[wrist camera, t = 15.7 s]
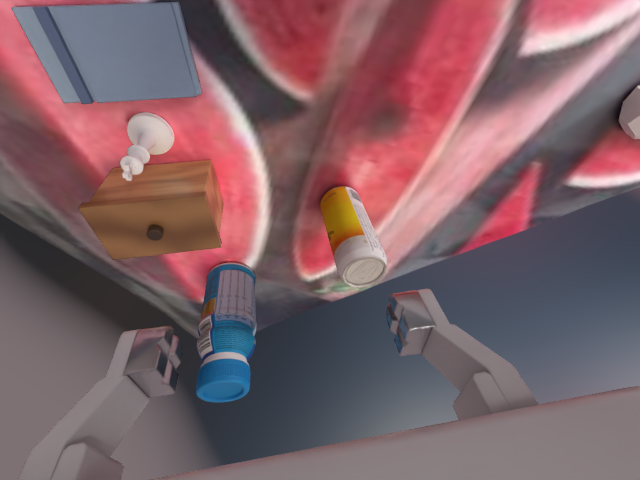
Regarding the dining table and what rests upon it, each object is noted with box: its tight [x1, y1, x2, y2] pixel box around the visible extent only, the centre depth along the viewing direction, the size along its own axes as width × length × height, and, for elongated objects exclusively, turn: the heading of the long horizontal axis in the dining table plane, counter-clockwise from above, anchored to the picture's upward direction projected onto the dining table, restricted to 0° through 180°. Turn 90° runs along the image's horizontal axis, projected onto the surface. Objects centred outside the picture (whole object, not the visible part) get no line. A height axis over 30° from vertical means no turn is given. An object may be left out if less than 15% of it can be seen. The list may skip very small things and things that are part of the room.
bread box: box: [78, 160, 223, 260], centre depth 37 cm, size 8×13×10 cm, turn 91°
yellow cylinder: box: [320, 186, 387, 287], centre depth 41 cm, size 6×6×15 cm
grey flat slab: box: [11, 2, 202, 104], centre depth 30 cm, size 8×14×1 cm, turn 90°
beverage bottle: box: [196, 263, 256, 402], centre depth 47 cm, size 8×8×20 cm
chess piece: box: [120, 112, 174, 181], centre depth 32 cm, size 5×5×10 cm
